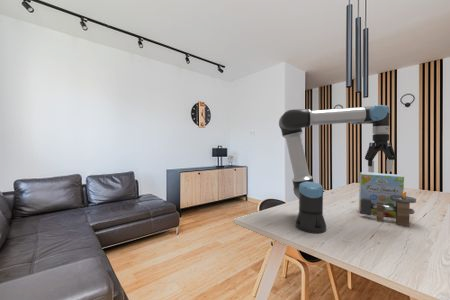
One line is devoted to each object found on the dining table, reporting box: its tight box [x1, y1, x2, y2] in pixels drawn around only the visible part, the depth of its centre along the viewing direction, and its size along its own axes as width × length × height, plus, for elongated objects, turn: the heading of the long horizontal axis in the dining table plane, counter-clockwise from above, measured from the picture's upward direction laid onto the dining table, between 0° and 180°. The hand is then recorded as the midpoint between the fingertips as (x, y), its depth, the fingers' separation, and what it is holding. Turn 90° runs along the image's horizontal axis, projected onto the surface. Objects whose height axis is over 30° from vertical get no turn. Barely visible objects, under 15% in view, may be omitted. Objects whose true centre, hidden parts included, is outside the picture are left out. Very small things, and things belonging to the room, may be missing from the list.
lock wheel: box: [390, 190, 417, 204], centre depth 114 cm, size 11×11×6 cm
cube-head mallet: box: [361, 198, 415, 216], centre depth 118 cm, size 4×24×9 cm, turn 54°
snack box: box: [358, 171, 405, 219], centre depth 129 cm, size 22×9×26 cm, turn 62°
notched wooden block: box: [376, 201, 411, 228], centre depth 117 cm, size 9×14×13 cm, turn 53°
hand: (380, 171), depth 115 cm, fingers open, 13 cm apart
